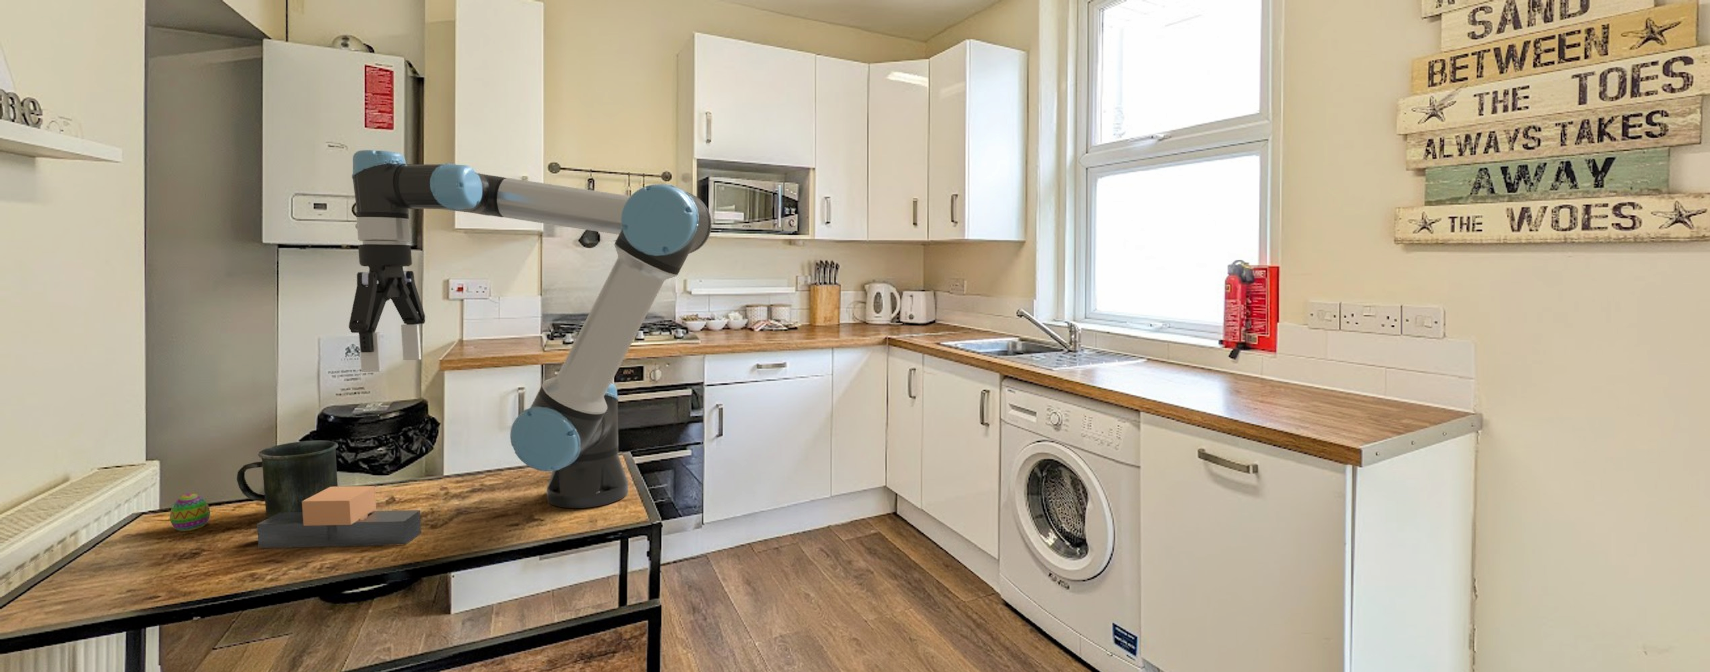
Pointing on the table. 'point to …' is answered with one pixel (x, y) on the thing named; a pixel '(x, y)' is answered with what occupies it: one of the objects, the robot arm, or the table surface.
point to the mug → (292, 474)
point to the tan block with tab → (339, 505)
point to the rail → (340, 530)
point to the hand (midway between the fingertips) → (393, 365)
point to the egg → (189, 512)
